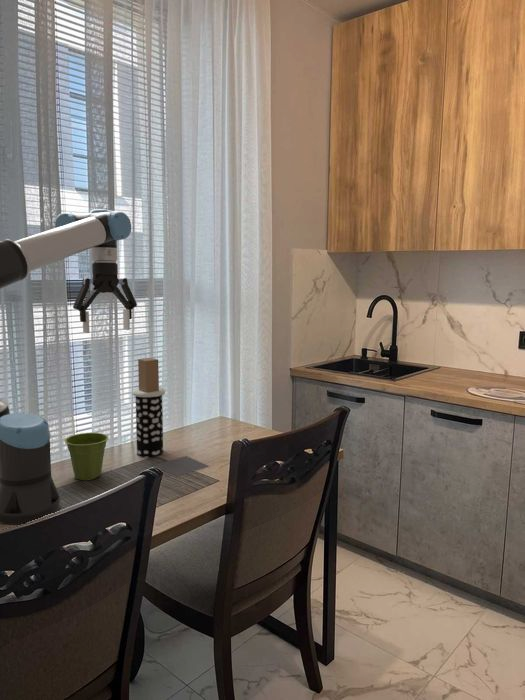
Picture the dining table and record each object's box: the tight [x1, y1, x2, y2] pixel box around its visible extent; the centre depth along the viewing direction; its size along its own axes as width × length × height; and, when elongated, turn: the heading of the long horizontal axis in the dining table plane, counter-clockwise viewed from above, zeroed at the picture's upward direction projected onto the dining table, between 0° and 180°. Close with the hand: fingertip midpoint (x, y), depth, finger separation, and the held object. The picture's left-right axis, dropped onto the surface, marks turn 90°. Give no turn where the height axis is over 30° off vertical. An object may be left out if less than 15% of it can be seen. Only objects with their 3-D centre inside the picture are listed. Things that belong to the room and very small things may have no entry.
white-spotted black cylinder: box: [135, 395, 164, 458], centre depth 170 cm, size 8×8×20 cm
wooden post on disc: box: [132, 357, 166, 397], centre depth 168 cm, size 10×10×11 cm
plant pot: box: [64, 432, 109, 481], centre depth 152 cm, size 12×12×11 cm
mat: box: [153, 455, 210, 478], centre depth 161 cm, size 12×12×1 cm
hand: (107, 331), depth 166 cm, fingers open, 13 cm apart
